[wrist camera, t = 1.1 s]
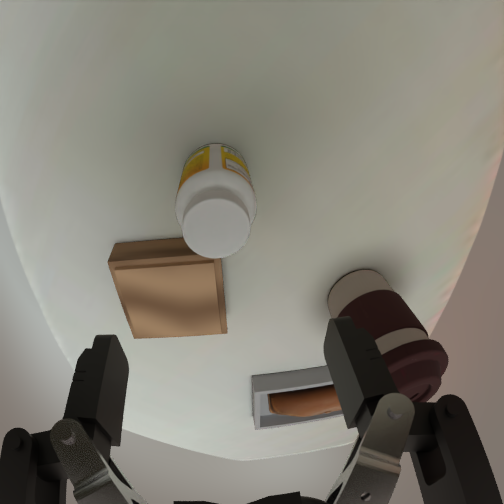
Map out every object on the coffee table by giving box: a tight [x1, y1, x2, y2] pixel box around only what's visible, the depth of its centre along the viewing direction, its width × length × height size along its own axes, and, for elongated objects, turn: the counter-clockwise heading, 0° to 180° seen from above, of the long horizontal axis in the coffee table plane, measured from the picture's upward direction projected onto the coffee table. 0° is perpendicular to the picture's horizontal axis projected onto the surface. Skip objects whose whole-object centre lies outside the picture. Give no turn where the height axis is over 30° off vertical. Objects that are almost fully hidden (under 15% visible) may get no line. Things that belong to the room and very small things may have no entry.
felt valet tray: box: [252, 366, 344, 430], centre depth 46 cm, size 13×23×3 cm, turn 91°
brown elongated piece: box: [267, 384, 342, 417], centre depth 45 cm, size 18×7×7 cm
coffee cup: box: [328, 270, 448, 402], centre depth 30 cm, size 10×10×15 cm
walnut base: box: [108, 238, 228, 339], centre depth 31 cm, size 10×10×4 cm
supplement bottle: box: [175, 144, 257, 258], centre depth 23 cm, size 5×5×10 cm
